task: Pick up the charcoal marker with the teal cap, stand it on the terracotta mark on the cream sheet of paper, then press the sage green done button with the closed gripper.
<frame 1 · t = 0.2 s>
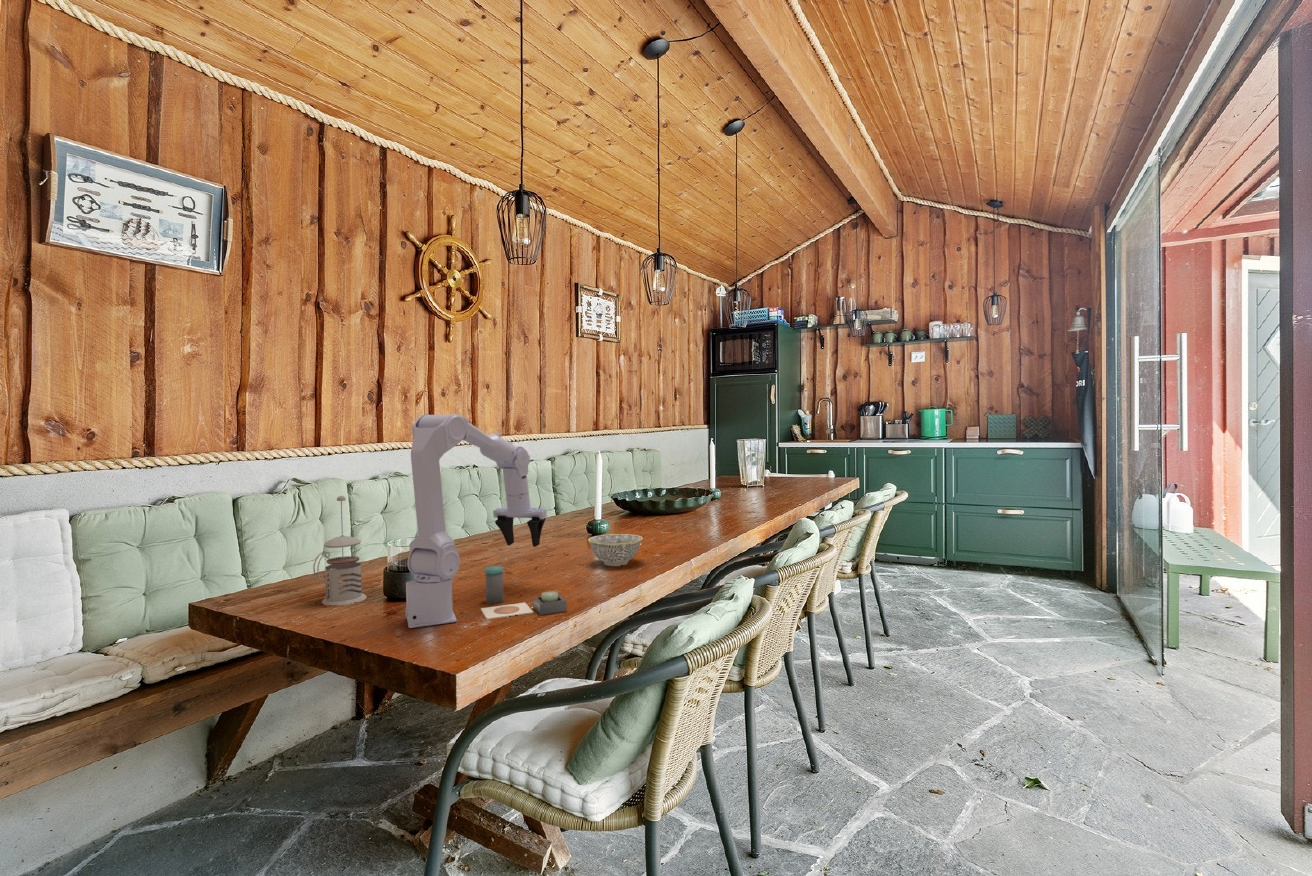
hand: (523, 544, 163), 11 cm above the table, tool pointing down, fingers open, 7 cm apart
french press: (340, 601, 153), on the table
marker: (494, 601, 150), on the table
paper: (506, 611, 142), on the table
bowl: (616, 564, 187), on the table
button: (549, 598, 143), point 3 cm above the table, slide at 0.0 cm
button base: (549, 609, 143), on the table
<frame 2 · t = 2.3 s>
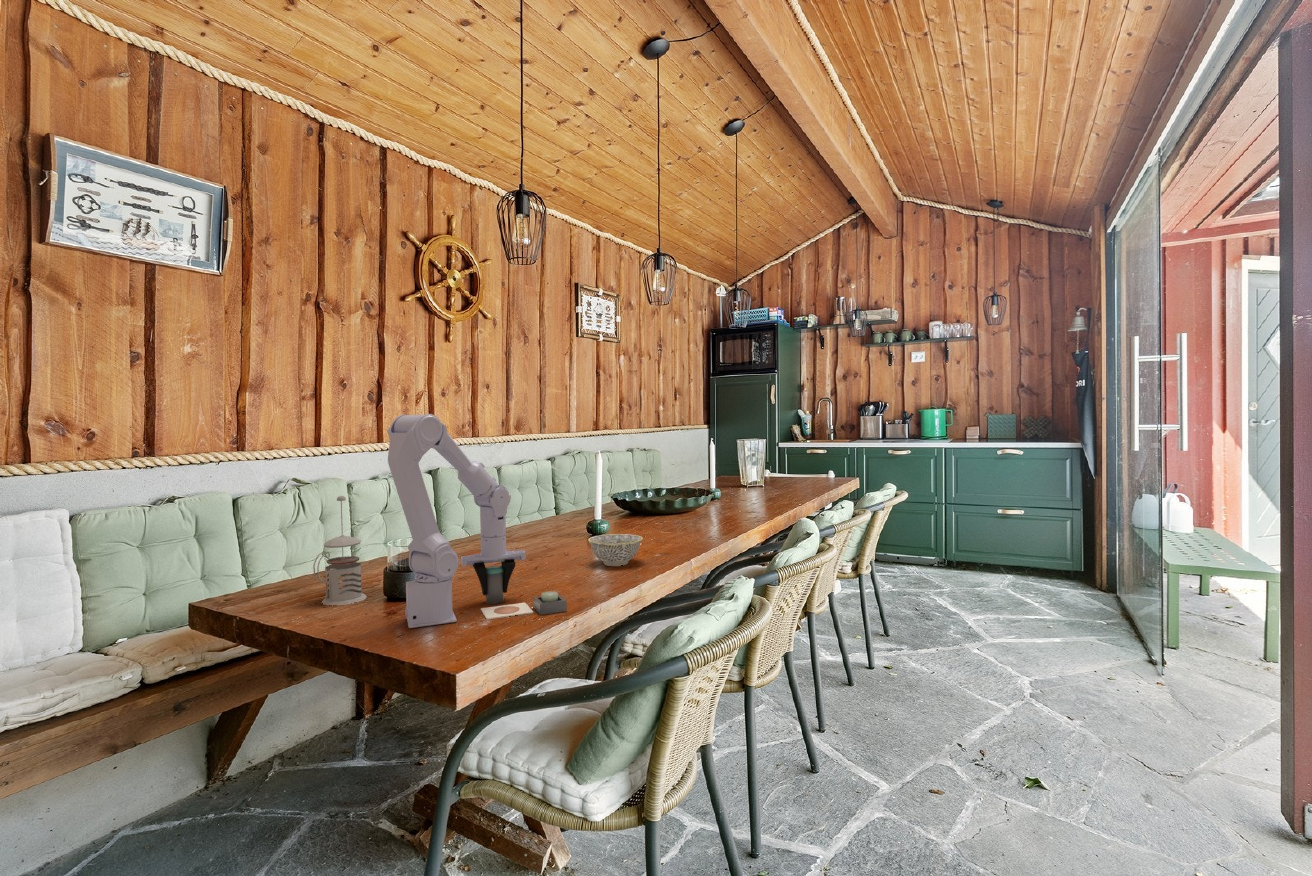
hand: (494, 593, 150), 2 cm above the table, tool pointing down, fingers closed on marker, 4 cm apart
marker: (494, 601, 150), on the table, touching gripper
everything else where it was.
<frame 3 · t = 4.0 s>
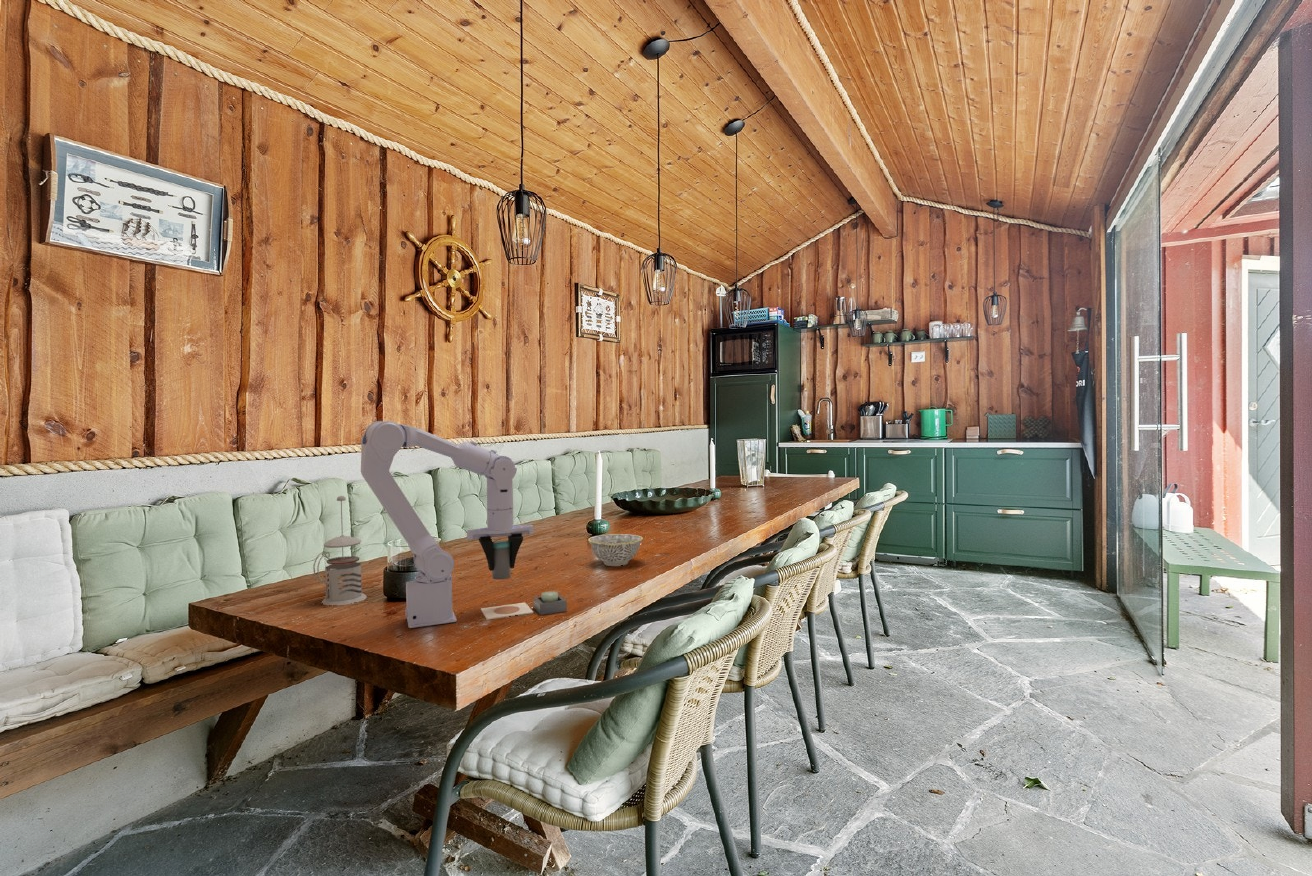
hand: (501, 568, 144), 9 cm above the table, tool pointing down, fingers closed on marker, 4 cm apart
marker: (501, 577, 144), point 7 cm above the table, touching gripper
everything else where it was.
when the fingers open (4 cm above the table, at t = 5.6 s): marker drops 1 cm, resting on paper.
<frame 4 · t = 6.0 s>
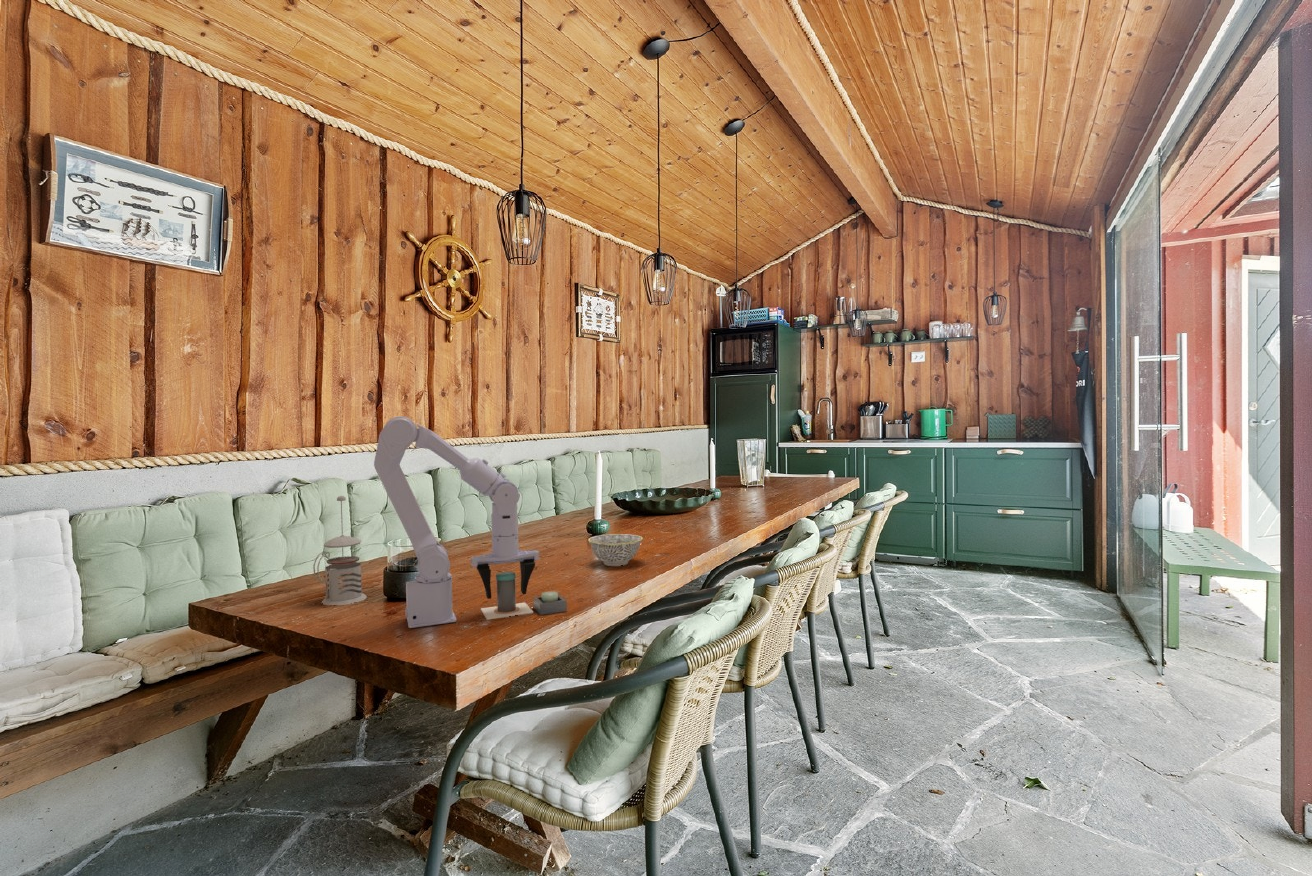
hand: (506, 595, 142), 4 cm above the table, tool pointing down, fingers open, 7 cm apart
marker: (506, 609, 142), resting on paper
everything else where it was.
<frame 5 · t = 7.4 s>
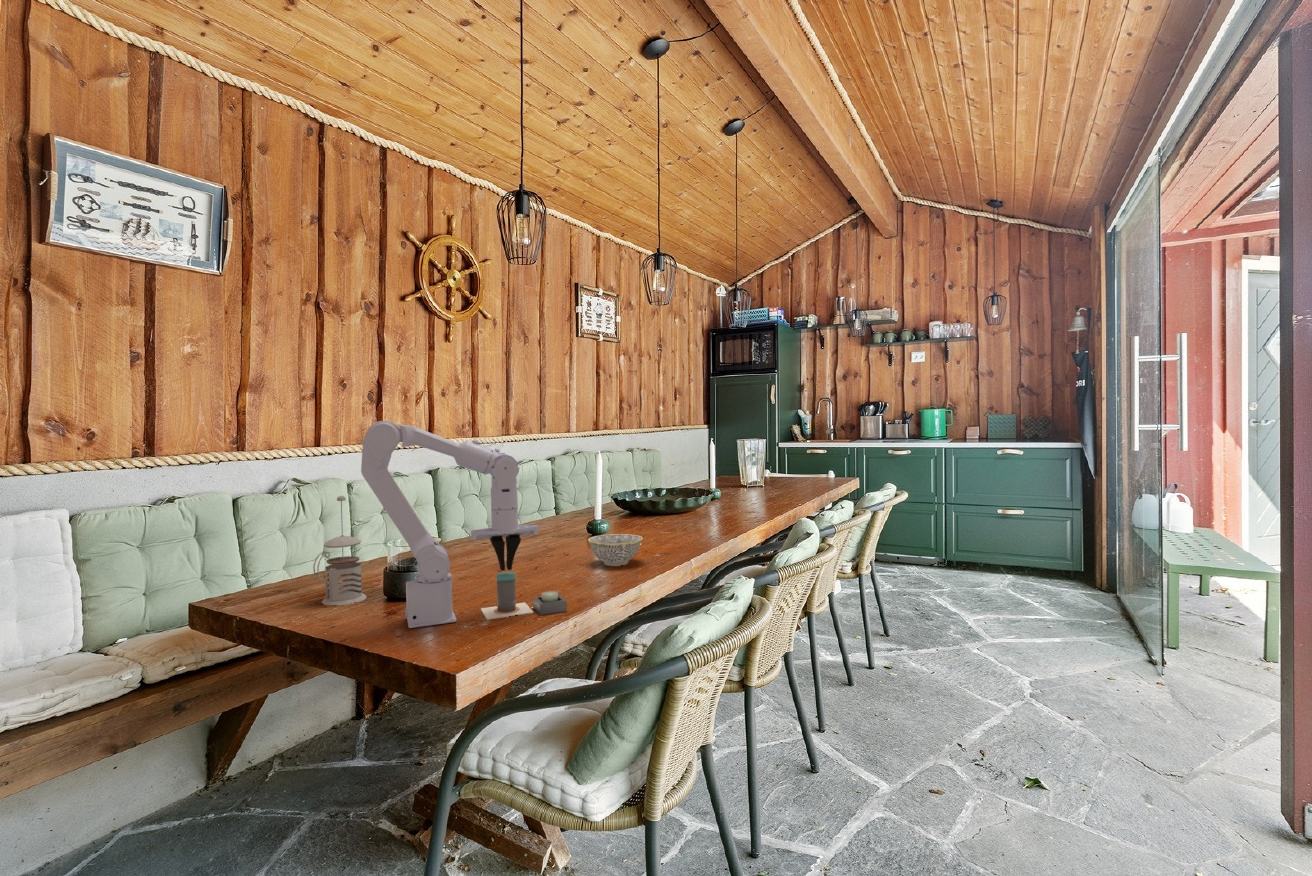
hand: (505, 569, 142), 9 cm above the table, tool pointing down, fingers closed
nothing on the table moved.
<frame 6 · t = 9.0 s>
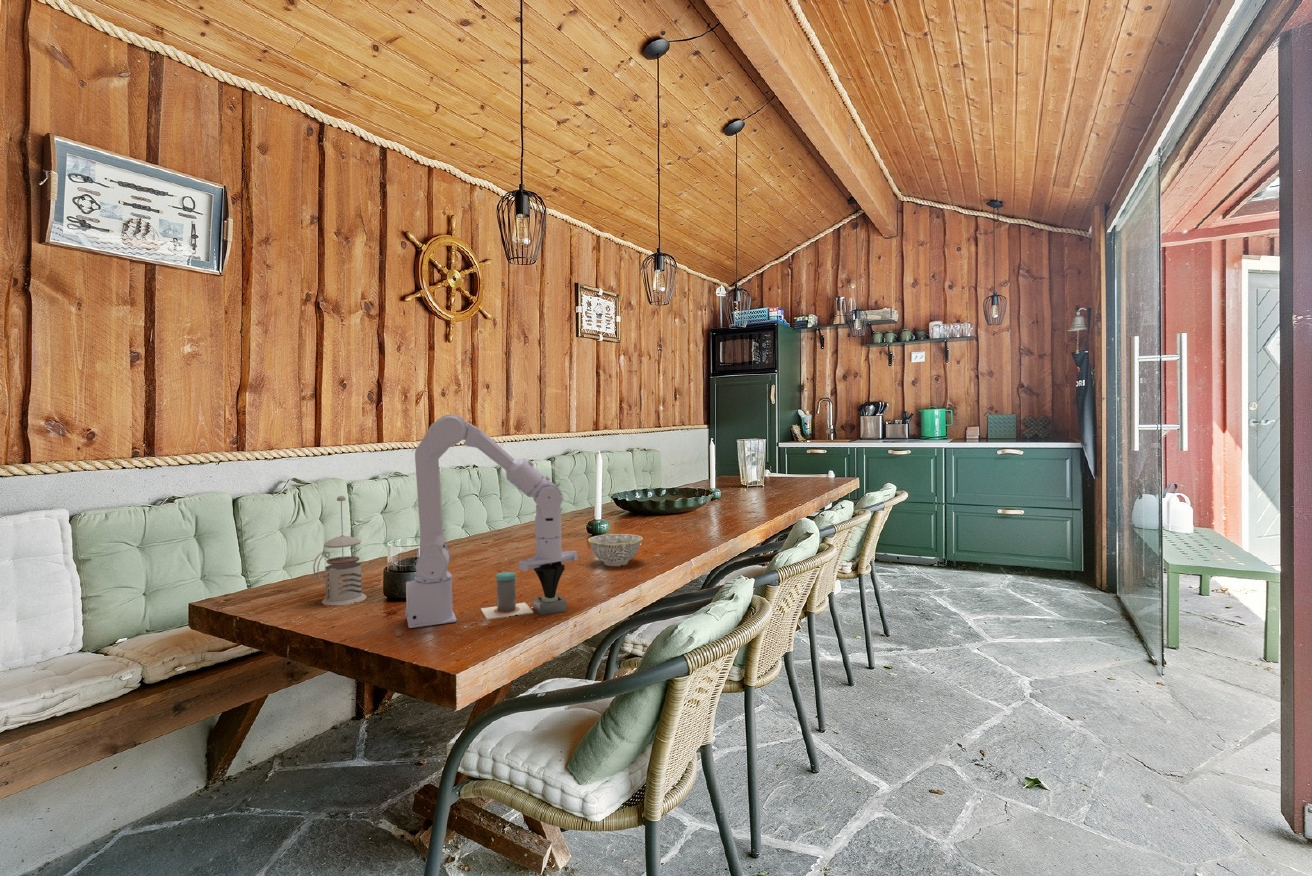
hand: (549, 597, 143), 3 cm above the table, tool pointing down, fingers closed, pressing on button
button: (549, 601, 143), point 2 cm above the table, slide at 0.8 cm, touching gripper
everything else where it was.
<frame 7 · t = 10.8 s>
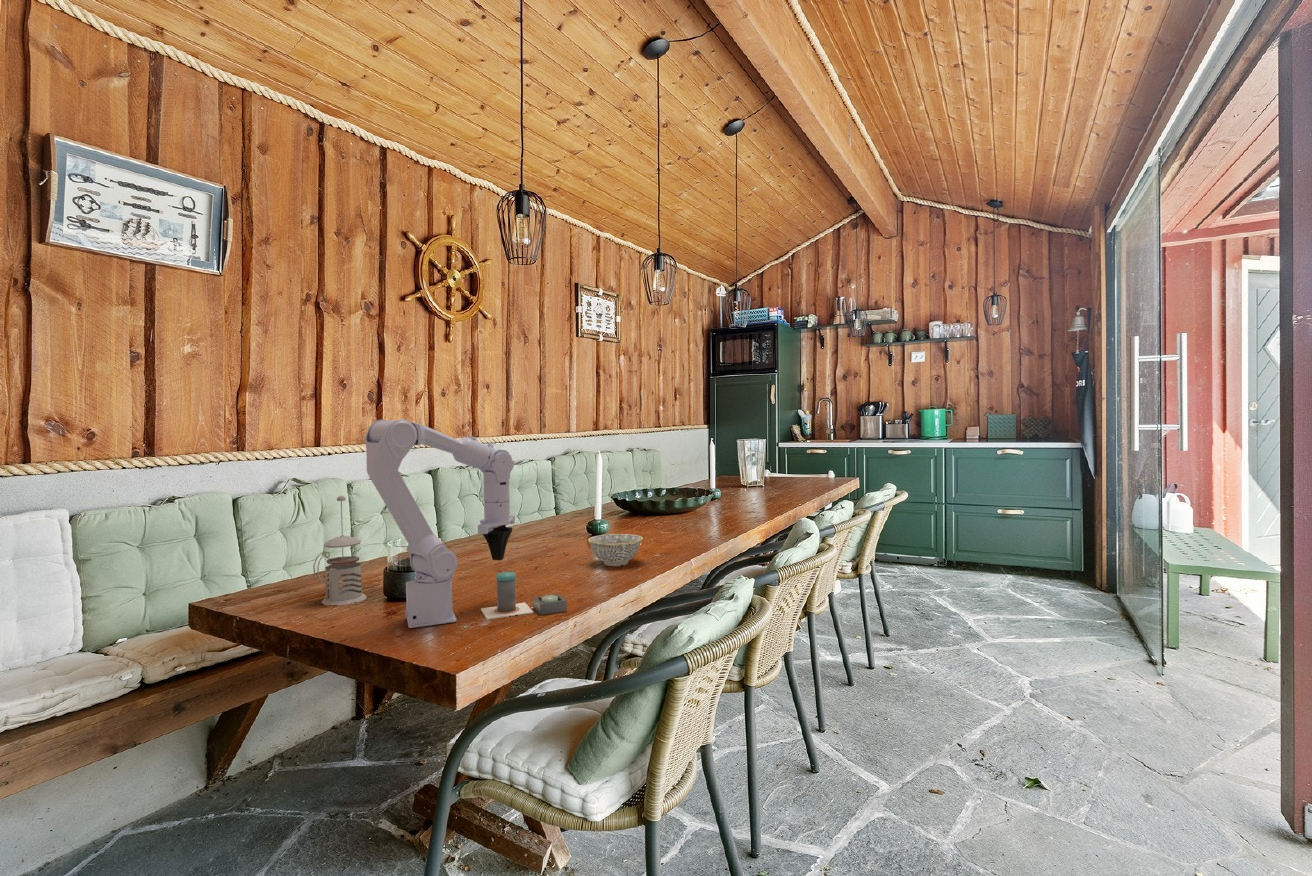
hand: (497, 559, 148), 10 cm above the table, tool pointing down, fingers closed
button: (549, 601, 143), point 2 cm above the table, slide at 0.8 cm
everything else where it was.
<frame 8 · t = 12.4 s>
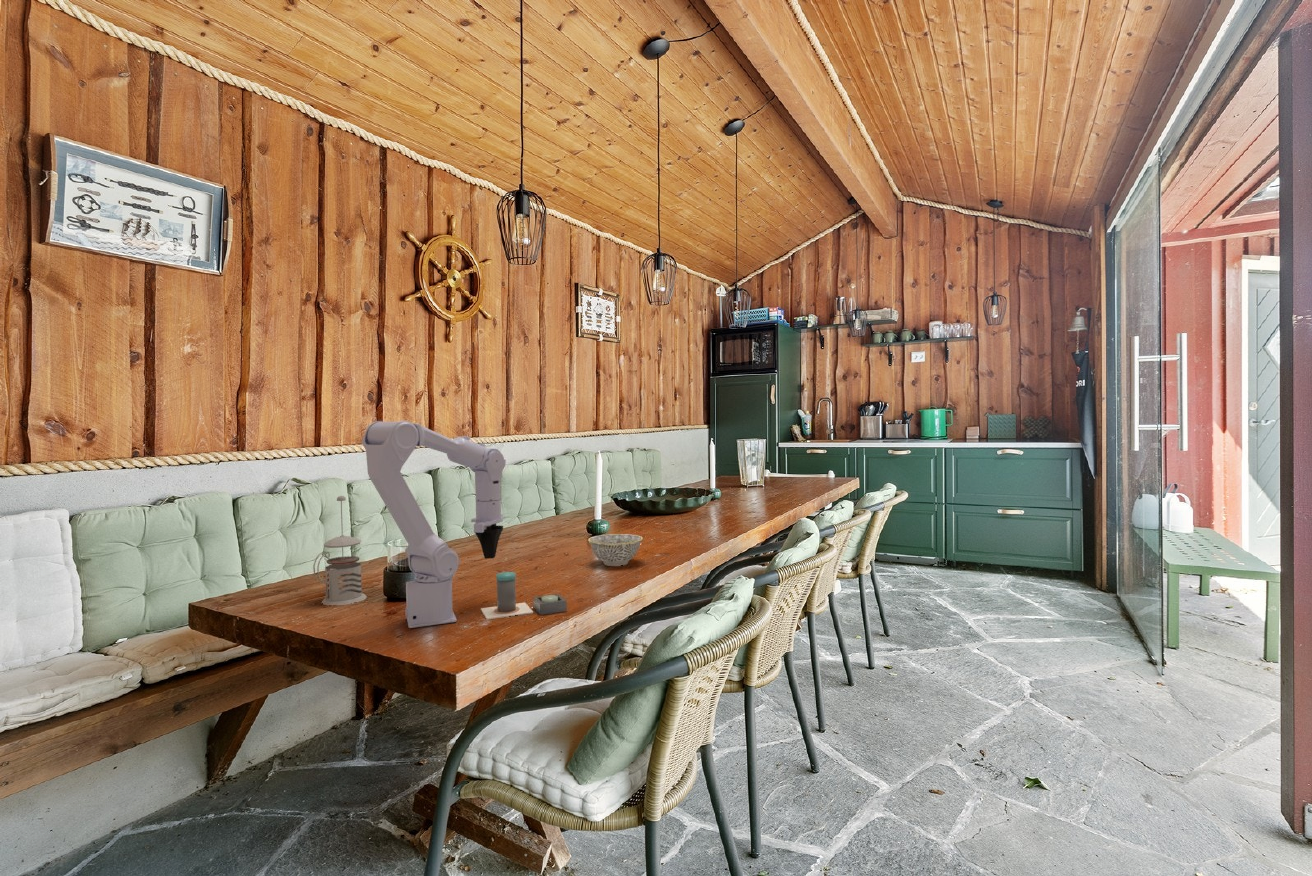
hand: (489, 557, 149), 10 cm above the table, tool pointing down, fingers closed
nothing on the table moved.
at the end: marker inside the target area on the paper (0.0 cm from its centre), point 0.4 cm above the paper's base; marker tilted 0°; button slide at 0.8 cm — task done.
